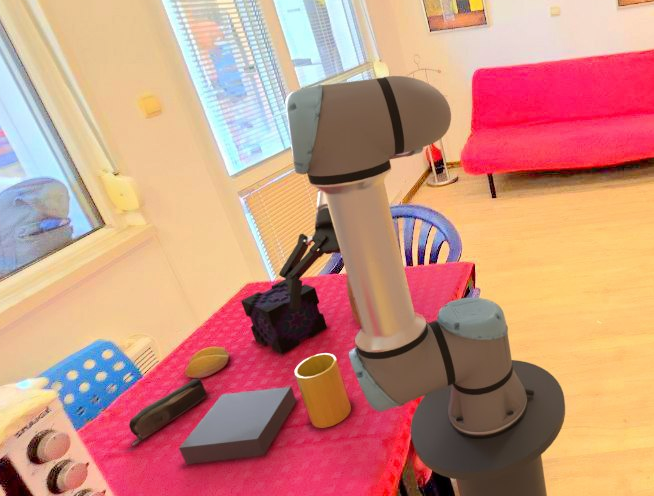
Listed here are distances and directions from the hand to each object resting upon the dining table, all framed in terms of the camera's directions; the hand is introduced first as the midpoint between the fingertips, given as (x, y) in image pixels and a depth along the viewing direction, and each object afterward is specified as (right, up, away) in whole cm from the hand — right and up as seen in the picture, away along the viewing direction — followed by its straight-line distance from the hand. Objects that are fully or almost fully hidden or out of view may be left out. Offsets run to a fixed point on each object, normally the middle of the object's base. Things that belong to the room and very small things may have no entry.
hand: (327, 306), depth 108 cm
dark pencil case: (-32, -23, -1) cm, 39 cm away
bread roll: (-35, -17, +15) cm, 42 cm away
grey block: (-13, -23, -6) cm, 28 cm away
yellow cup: (+2, -21, -3) cm, 21 cm away
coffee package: (-2, -8, +31) cm, 32 cm away
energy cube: (-21, -12, +25) cm, 35 cm away
